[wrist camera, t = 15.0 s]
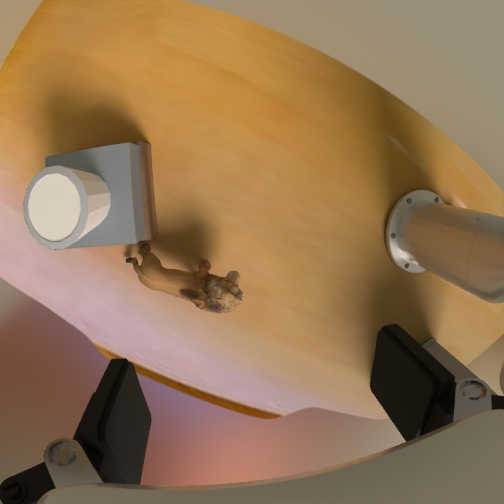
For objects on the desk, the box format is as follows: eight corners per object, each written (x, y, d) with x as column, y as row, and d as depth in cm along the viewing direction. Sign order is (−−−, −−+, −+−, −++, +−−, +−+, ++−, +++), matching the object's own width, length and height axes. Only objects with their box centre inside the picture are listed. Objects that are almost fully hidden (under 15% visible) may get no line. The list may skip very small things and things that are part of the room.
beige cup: (53, 178, 26) (15, 181, 19) (108, 157, 26) (78, 153, 19) (68, 241, 28) (34, 258, 21) (123, 224, 28) (97, 239, 21)
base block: (151, 145, 34) (143, 141, 30) (158, 232, 37) (151, 239, 33) (73, 158, 33) (57, 157, 29) (82, 240, 36) (67, 248, 32)
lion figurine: (241, 256, 39) (249, 280, 30) (235, 295, 40) (240, 327, 31) (128, 240, 36) (104, 259, 28) (126, 279, 38) (104, 307, 29)
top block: (139, 146, 30) (129, 142, 26) (145, 235, 32) (136, 243, 29) (61, 158, 29) (45, 157, 25) (69, 241, 31) (53, 249, 28)
